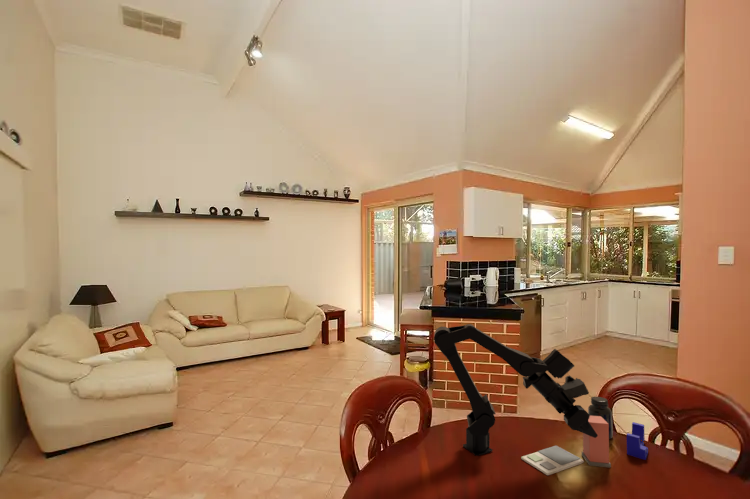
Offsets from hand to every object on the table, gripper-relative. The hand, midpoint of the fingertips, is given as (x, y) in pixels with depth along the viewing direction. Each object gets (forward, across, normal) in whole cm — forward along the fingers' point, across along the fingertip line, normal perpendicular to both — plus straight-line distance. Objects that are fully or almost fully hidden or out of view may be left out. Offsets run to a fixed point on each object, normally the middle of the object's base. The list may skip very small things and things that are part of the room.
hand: (589, 429), depth 105 cm
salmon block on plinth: (+7, 0, +5) cm, 9 cm away
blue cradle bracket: (+19, +10, -6) cm, 22 cm away
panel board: (-2, -2, +14) cm, 14 cm away
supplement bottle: (+13, +18, 0) cm, 22 cm away
